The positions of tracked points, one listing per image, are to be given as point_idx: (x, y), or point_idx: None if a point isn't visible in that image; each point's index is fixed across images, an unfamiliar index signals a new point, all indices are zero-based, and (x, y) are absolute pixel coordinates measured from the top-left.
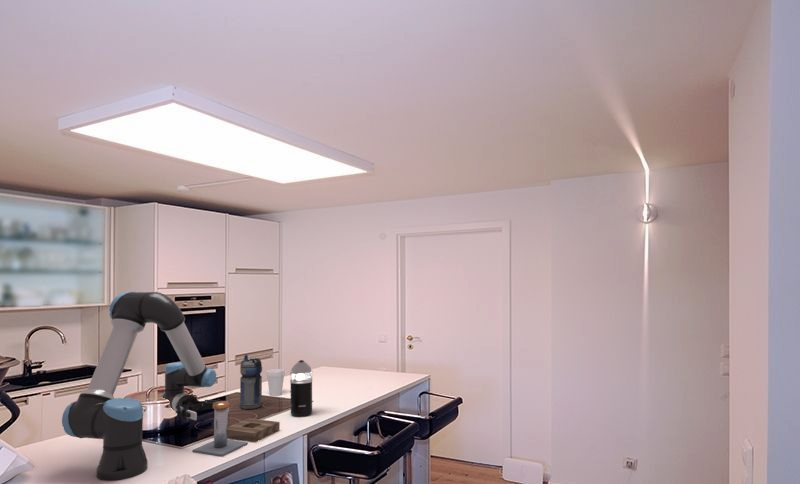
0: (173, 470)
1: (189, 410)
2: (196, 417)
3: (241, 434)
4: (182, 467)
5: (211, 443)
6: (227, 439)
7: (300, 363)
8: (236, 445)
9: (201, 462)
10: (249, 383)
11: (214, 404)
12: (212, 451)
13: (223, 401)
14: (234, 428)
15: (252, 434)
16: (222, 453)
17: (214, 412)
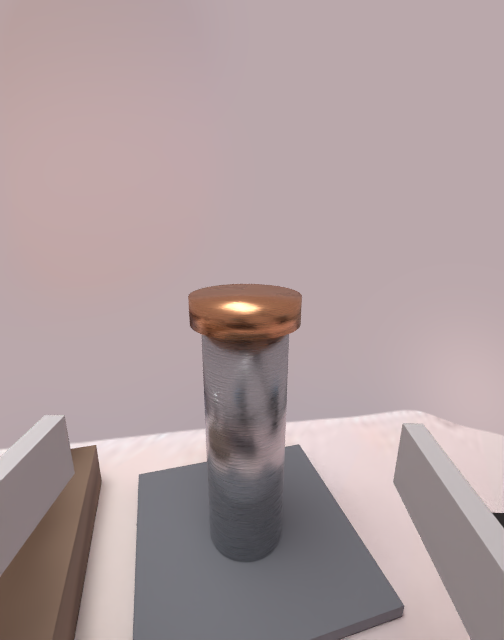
0: (498, 467)
1: (501, 557)
2: (399, 463)
3: (83, 527)
4: (461, 468)
5: (252, 621)
6: (134, 603)
7: None
8: (196, 478)
9: (383, 459)
10: None
11: (296, 295)
12: (315, 492)
13: (206, 300)
14: (8, 615)
15: (94, 461)
16: (293, 450)
17: (287, 355)
